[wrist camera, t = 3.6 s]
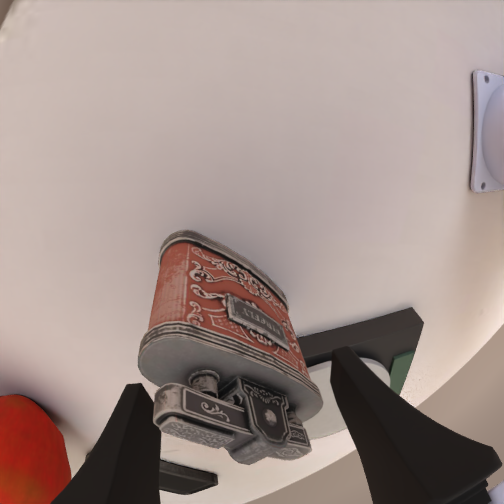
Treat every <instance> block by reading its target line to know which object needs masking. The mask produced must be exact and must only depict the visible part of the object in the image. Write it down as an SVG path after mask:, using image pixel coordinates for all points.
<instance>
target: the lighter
mask: <svg viewBox="0 0 504 504" xmlns="http://www.w3.org/2000/svg"><path fill="white" fill-rule="evenodd" d="M158 265H159V269H160V271H159V275H158V280H157V285H156V290H155V295H154V300H153V306H152V311H151V316H150V322H149V328H148V332H146V333H145V335H144V337H143V339H142V340H141V344H140V349H139V355H138V368H139V370H140V372H141V374H142V375H143V376H144V377H145V378H146V379H148V380H149V381H150V382H152V383H154V384H155V385H157V386H158V387H160V388H159V389H158V390H157V392H156V393H155V401H154V414H153V423H154V424H155V425H156V426H158V427H159V429H160V431H162V432H164V433H167V434H170V435H173V436H176V437H179V438H182V439H185V440H188V441H192V442H195V443H198V444H202V445H206V446H209V447H213V448H217V449H219V448H221V447H224V448H225V449H226V450H227V451H228V452H229V454H230V456H231V457H232V458H233V459H234V460H235V461H237V462H238V463H241V464H246V465H250V464H253V463H255V462H257V461H259V460H261V459H263V458H265V457H270V458H276V459H281V460H295V459H298V458H301V457H303V456H305V455H307V454H308V453H310V452H311V451H312V448H311V445H310V441H309V438H308V434H307V431H306V428H304V427H303V424H302V423H303V422H305V421H307V420H309V419H311V418H312V417H314V416H315V415H316V414H317V413H319V411H320V410H321V409H322V407H323V399H322V396H321V393H320V391H319V388H318V387H317V385H316V384H315V383H314V382H312V381H311V379H310V376H309V373H308V370H307V367H306V364H305V361H304V359H303V356H302V353H301V350H300V347H299V344H298V341H297V339H296V336H295V333H294V330H293V327H292V324H291V322H290V319H289V316H288V313H289V306H288V303H287V300H286V297H285V295H284V294H283V292H282V291H281V290H280V289H279V288H278V287H277V286H276V285H275V284H274V282H273V281H272V280H271V279H270V278H269V277H268V276H267V275H266V274H264V273H263V272H262V271H261V270H259V269H258V268H257V267H256V266H255V265H253V264H252V263H251V262H250V261H248V260H247V259H246V258H244V257H242V256H241V255H239V254H237V253H236V252H234V251H232V250H231V249H229V248H227V247H226V246H224V245H222V244H220V243H218V242H216V241H214V240H212V239H209V238H207V237H205V236H203V235H201V234H198V233H196V232H193V231H189V230H183V231H178V232H176V233H173V234H171V235H170V236H169V237H168V238H167V239H166V240H165V241H164V243H163V245H162V247H161V250H160V254H159V260H158Z"/></svg>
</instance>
